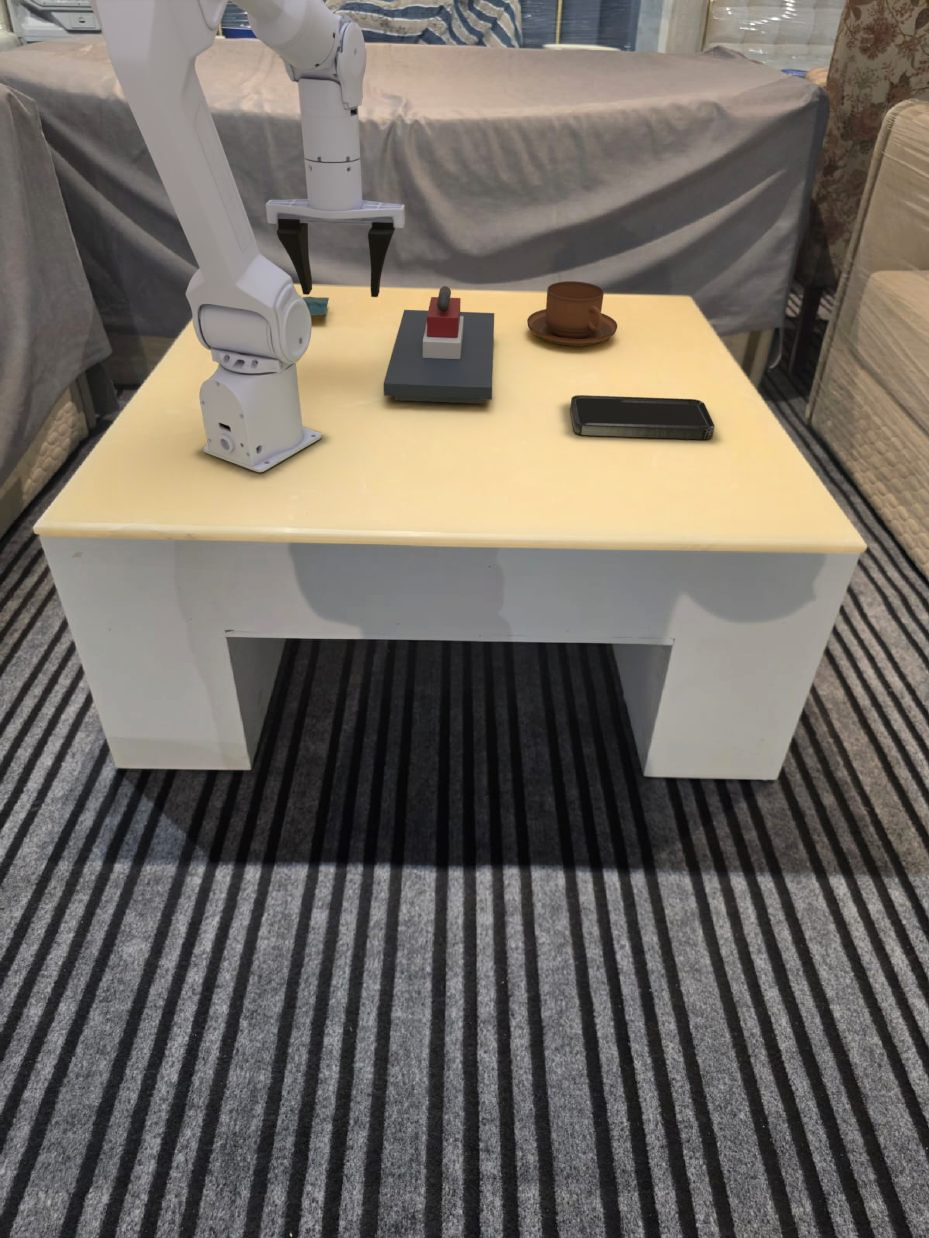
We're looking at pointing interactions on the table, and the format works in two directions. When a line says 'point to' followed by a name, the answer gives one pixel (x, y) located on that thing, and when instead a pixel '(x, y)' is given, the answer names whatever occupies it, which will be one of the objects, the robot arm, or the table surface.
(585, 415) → the phone
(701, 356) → the table surface
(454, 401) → the grey base platform
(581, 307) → the cup and saucer
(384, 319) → the table surface
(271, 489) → the table surface
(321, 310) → the terrain model
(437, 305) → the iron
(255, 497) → the table surface
